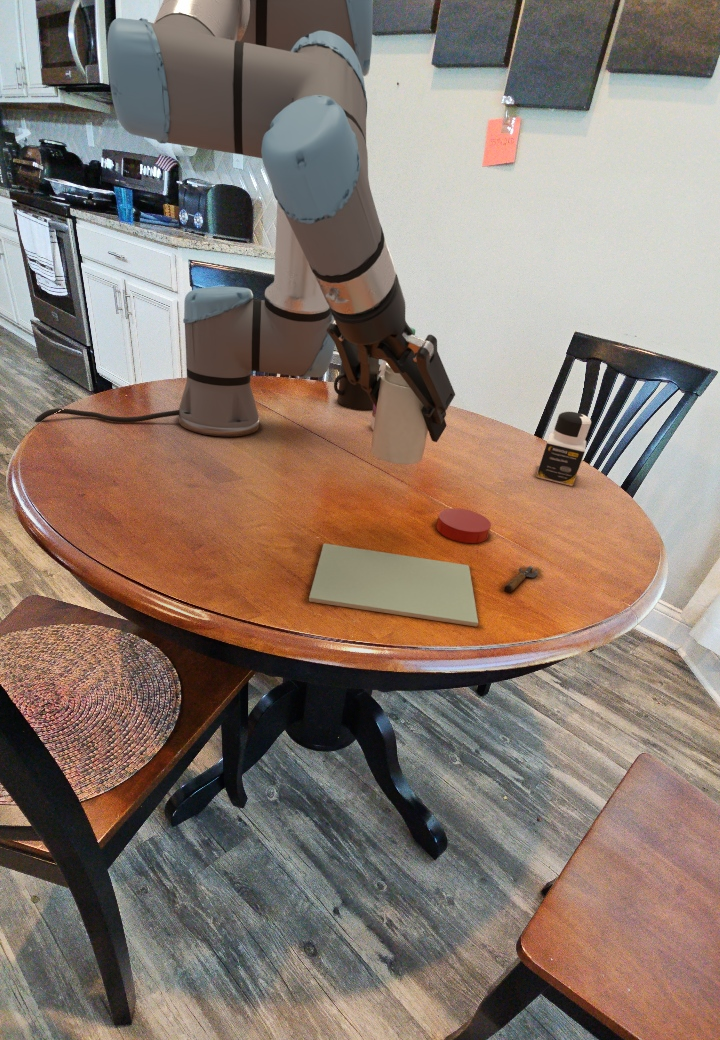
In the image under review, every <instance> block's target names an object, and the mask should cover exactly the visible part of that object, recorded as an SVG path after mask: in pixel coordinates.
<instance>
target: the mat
mask: <svg viewBox="0 0 720 1040" xmlns="http://www.w3.org/2000/svg"><path fill="white" fill-rule="evenodd" d="M308 602H310V603H316V604H323V605H329V606H337V607H343V608H348V609H349V608H350V609H355V610H362V611H370V612H376V613H383V614H384V613H385V614H390V615H397V616H402V617H410V618H416V619H422V620H430V621H436V622H442V623H449V624H456V625H463V626H469V627H478V626H479V619H478V612H477V607H476V606H477V605H476V600H475V593H474V588H473V583H472V576H471V569H470V565H469V564H463V563H456V562H450V561H443V560H437V559H431V558H430V559H429V558H425V557H424V558H423V557H417V556H412V555H411V556H410V555H403V554H397V553H390V552H384V551H378V550H371V549H370V550H369V549H364V548H358V547H351V546H345V545H338V544H331V543H323V544H322V548H321V552H320V556H319V560H318V562H317V566H316V570H315V575H314V578H313V581H312V586H311V589H310V593H309V596H308Z"/></svg>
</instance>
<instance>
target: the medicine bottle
mask: <svg viewBox="0 0 720 1040" xmlns="http://www.w3.org/2000/svg"><path fill="white" fill-rule="evenodd" d="M591 425H592V419H591V418H589V416H587V415H585V414H583V413H580V412H575V411H564V412H560V413H559V414H558V417H557V420H556V423H555V425H554V428H553V432H550V433H549V435H548V438H547V440H546V444H545V447H544V450H543V453H542V456H541V460H540V462H539V465H538V469H537V472H536V475H535V476H536V478H538V479H541V480H545V481H550V482H554V483H558V484H562V485H565V486H570V487H572V486H574V484H575V481H576V478H577V475H578V472H579V469H580V466H581V464H582V462H583V459H584V456H585V453H586V449H587V448H586V447H587V440H586V438H587V436H588V433H589V430H590V427H591Z"/></svg>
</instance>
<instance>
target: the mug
mask: <svg viewBox="0 0 720 1040" xmlns="http://www.w3.org/2000/svg"><path fill="white" fill-rule="evenodd" d="M380 365H381V363H379V368H380ZM377 378H378V377H377ZM333 390H334V392H335V393H336V395H337V403H338V404H339V405H341V406H343V407H345V408H348V409H352V410H357V411H358V410H359V411H370V410H373V405H374V403H373V402H372V401H371V400H370V397H369V395H368V393H367V391H365V390H363V389H362V388H361V384H359V383H357V384H356V385H353V384H351V383H350V382H349V380H348V378H347V375H346V372H345V369H344V367H343V364H342V361H341V362H340V372H339V374H338V375H337V376H336V377H335V379H334V382H333Z"/></svg>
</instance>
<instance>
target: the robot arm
mask: <svg viewBox="0 0 720 1040" xmlns="http://www.w3.org/2000/svg"><path fill="white" fill-rule="evenodd" d="M373 13H374V0H162V3H161V6H160V7H159V10H158V11H157V15H156V17H155V19H154V22H151V21H149V20H148V19H147V18H143V17H140V18H139V19H132V18H123V17H117V18H115V19H114V20H112V21H111V23H110V24H109V27H108V32H107V68H108V69H107V70H108V77H109V79H108V80H109V86H110V92H111V93H110V94H111V98H112V104H113V107H114V111H115V114H116V117H117V120H118V122H119V124H120V125H121V127H122V128H123V129H124V130H125V132H127V133H128V134H130V135H134V136H138V137H141V138H146V139H151V140H154V141H156V142H158V143H159V144H171V145H179V146H183V147H184V146H185V147H192V148H198V149H204V150H210V151H216V152H223V153H228V154H235V155H241V156H247V157H251V158H256V159H257V158H258V159H261V160H262V163H263V166H264V170H265V172H266V174H267V177H268V180H269V182H270V185H271V189H272V193H273V196H274V199H275V200H276V201H277V202H276V224H275V225H276V226H275V227H276V229H275V250H274V251H275V253H274V278H273V279H274V280H273V282H272V283H270V284H269V285H268V286H267V287H266V288H265V290H264V299H255V298H254V294H253V291H252V290H251V289H250V288H248V287H241V286H240V287H239V286H210V287H209V286H208V287H200V288H195V289H192V290H190V291H189V292H187V294H186V295H185V297H184V307H183V309H184V313H183V320H182V321H183V322H182V323H183V324H184V341H185V359H186V360H185V365H186V382H185V386H184V388H183V389H184V390H183V392H182V395H181V400H180V404H179V407H178V409H175V410H168V411H162V412H156V413H155V412H154V413H150V414H145V415H140V416H113V415H107V414H103V413H99V412H96V411H86V410H78V409H71V408H51V409H48V410H46V411H43V412H42V413H40V414H38V416H37V417H36V418H35V419H34V423H41V422H42V421H44V420H45V419H47V418H48V417H50V416H53V415H61V414H62V415H63V414H64V415H72V416H80V417H88V418H96V419H101V420H103V421H107V422H113V423H137V422H144V421H151V420H155V419H160V418H169V417H174V416H175V417H176V416H178V423H179V425H180V426H182V427H183V428H184V429H187V430H188V431H191V432H193V433H198V434H201V435H207V436H214V437H230V438H231V437H242V436H248V435H250V434H253V433H255V432H257V431H258V430H259V429H260V415H259V411H258V407H257V404H256V401H255V397H254V394H253V389H252V387H251V373H252V372H258V373H259V372H260V373H268V374H276V375H284V376H285V375H286V376H294V377H299V378H320V377H321V378H322V377H323V376H324V375H325V374H326V373H327V371H328V369H329V367H330V366H331V365H330V364H331V362H332V358H333V355H334V352H335V348H336V350H337V353H338V355H339V358H340V361H341V362H342V364H343V367H344V369H345V372H346V375H347V378H348V380H349V382H350V383H351V384H353V385H356V384H357V383H359V384H361V388H362V389H363V390H365V391H367V393H368V395H369V397H370V400H371V401H372V402H373V403H374V405H375V407H376V408H377V401H378V394H379V387H380V380H381V377H379V379H378V381H377V377H378V375H379V374H380V372H381V370H380V371H379V364H380V360H381V361H383V360H384V361H386V362H387V364H388V365H389V366H390V368H391V369H392V370H393V372H394V373H400V374H401V376H402V377H403V379H404V380H405V381H406V383H407V384H408V385H409V387H410V388H411V389H412V391H413V392H414V393H415V395H416V396H417V397H418V399H419V400H420V401H421V403H422V404H423V405H424V406H423V408H422V410H421V412H422V414H423V417H424V420H425V423H426V426H427V428H428V434H429V436H430V439H431V441H432V442H435V443H438V441H439V439H440V438H441V436H442V434H443V433H444V431H445V429H446V428H447V427H448V426H447V422H446V417H447V410H448V408H449V406H450V405H451V402H452V401H453V400H454V398H455V397H456V392H455V390H454V388H453V385H452V382H451V380H450V378H449V376H448V373H447V371H446V368H445V366H444V364H443V362H442V359H441V356H440V354H439V352H438V339H437V338H436V336H434V335H433V334H428V335H426V337H425V339H423V338H421V337H419V336H416V335H415V336H414V335H413V331H412V329H411V328H412V327H411V328H410V325H409V324H408V323H407V320H406V299H405V296H404V292H403V290H402V286H401V284H400V279H399V277H398V274H397V271H396V270H397V269H396V267H395V264H394V260H393V257H392V255H391V251H390V249H389V245H388V243H387V239H386V237H385V232H384V231H383V227H382V224H381V222H380V218H379V214H378V211H377V208H376V205H375V201H374V197H373V194H372V190H371V186H370V185H371V184H370V181H369V157H368V156H369V155H368V148H367V115H368V98H367V91H366V86H365V85H366V84H365V78H367V77H368V76H369V73H370V69H371V57H372V47H373V25H374V24H373V23H374V21H373V20H374V19H373V18H374V15H373ZM62 409H64V410H62ZM59 410H61V411H60V412H58V411H59ZM56 412H57V413H56ZM54 413H56V414H54Z"/></svg>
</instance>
